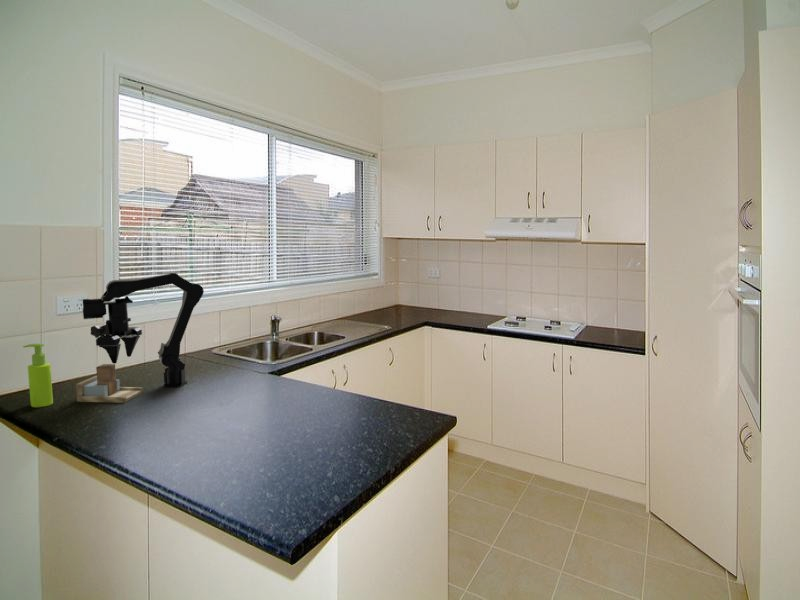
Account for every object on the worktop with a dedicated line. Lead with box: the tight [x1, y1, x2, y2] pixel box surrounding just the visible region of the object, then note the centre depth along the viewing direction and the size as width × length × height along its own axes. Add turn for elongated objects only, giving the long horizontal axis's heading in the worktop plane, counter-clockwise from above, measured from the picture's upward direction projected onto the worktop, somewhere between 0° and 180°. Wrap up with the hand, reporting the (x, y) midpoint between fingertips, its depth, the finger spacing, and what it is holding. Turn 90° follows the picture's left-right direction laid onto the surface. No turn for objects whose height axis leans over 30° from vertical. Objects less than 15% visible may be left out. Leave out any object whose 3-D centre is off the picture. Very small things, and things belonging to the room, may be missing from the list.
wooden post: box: [95, 363, 117, 396], centre depth 165 cm, size 4×4×10 cm
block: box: [84, 378, 121, 396], centre depth 165 cm, size 7×9×4 cm
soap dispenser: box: [22, 343, 54, 408], centre depth 156 cm, size 6×7×20 cm
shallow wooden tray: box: [75, 374, 144, 404], centre depth 165 cm, size 16×11×6 cm
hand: (122, 359), depth 170 cm, fingers open, 9 cm apart
